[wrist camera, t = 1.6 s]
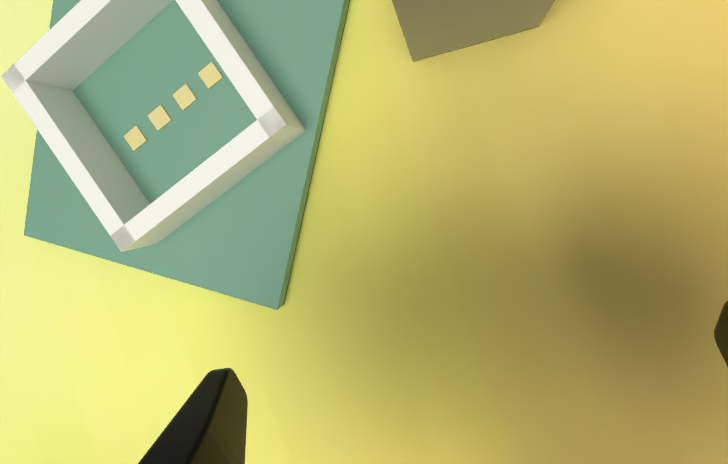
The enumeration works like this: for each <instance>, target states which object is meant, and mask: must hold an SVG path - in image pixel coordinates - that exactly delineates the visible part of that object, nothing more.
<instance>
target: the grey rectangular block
mask: <svg viewBox="0 0 728 464" xmlns="http://www.w3.org/2000/svg"><path fill="white" fill-rule="evenodd" d="M392 2H393V5H394V8H395V11H396V14H397V16H398V19H399V22H400V25H401V28H402V31H403V34H404V37H405V40H406V43H407V46H408V49H409V52H410V55H411V57H412V60H413V62H414V61H417V60H421V59H424V58H428V57H432V56H435V55H439V54H442V53H446V52H450V51H453V50H457V49H460V48H464V47H468V46H471V45H475V44H478V43H482V42H486V41H489V40H493V39H496V38H500V37H504V36H507V35H511V34H514V33H518V32H522V31H525V30H529V29H532V28H536V27H538V26H539V25H540V23H541V21H542V20H543V18H544V16H545V15H546V13H547V11H548V10H549V8H550V7H551V5H552V3H553V2H554V0H392Z"/></svg>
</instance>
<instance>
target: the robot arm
mask: <svg viewBox="0 0 728 464" xmlns="http://www.w3.org/2000/svg"><path fill="white" fill-rule="evenodd" d="M714 337H715V341H716V344H717V346H718V348H719V350H720V352H721V354H722V356H723V358H724V360H725V362H726V364H727V366H728V301H727V302H726V303H725V304H724V306H723V308H722V311H721V314H720V316H719V319H718V322H717V324H716V327H715V330H714ZM247 405H248V402H247V395H246V392H245V390H244V388H243V386H242V385H241V383H240V381H239V379H238V377H237V376H236V374H235V372H234V371H233V370H232V369H230V368H224V369H217V370H212V371H210V372H209V373H208V374H207V375H206V376H205V377H204V379H203V380H202V381H201V383H200V384H199V385H198V386H197V388H196V389H195V390H194V392H193V393H192V394H191V396H190V397H189V398H188V399H187V401H186V402H185V403H184V405H183V406H182V407H181V409H180V410H179V411H178V412H177V414H176V415H175V416H174V418H173V419H172V420H171V422H170V423H169V424H168V425H167V427H166V428H165V429H164V431H163V432H162V433H161V435H160V436H159V437H158V438H157V440H156V441H155V442H154V444H153V445H152V446H151V448H150V449H149V450H148V451H147V453H146V454H145V455H144V457H143V458H142V459H141V460H140V462H139V463H138V464H245V446H246V426H247Z"/></svg>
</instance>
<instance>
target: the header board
mask: <svg viewBox="0 0 728 464" xmlns="http://www.w3.org/2000/svg"><path fill="white" fill-rule="evenodd" d="M349 2H350V0H53V7H52V15H51V23H50V30H49V31H48V32H47V33H46V34H45V35H44V36H43V37H42V38H41V39H40V40H39V41H38V42H37V43H36V44H34V45H33V46H32V47H31V48H30V49H29V50H28V51H27V52H26V53H25V54H24V55H23V56H22V57H21V58H20V59H19V60H18V61H17V62H16V63H15V64H13V65H12V66H11V67H10V68H9V69H8V70H7V71H6V72H5V73H4V74H3V75H2V76H1V77H2V78H3V80H4V81H5V83H6V84H7V86H8V87H9V89H10V90H11V91H12V93H13V94H14V96H15V97H16V99H17V100H18V102H19V103H20V105H21V106H22V108H23V109H24V110H25V112H26V113H27V115H28V116H29V118H30V119H31V121H32V122H33V124H34V125H35V127H36V128H37V135H36V143H35V151H34V159H33V167H32V175H31V183H30V191H29V199H28V207H27V215H26V223H25V230H24V235H25V236H29V237H32V238H35V239H39V240H42V241H46V242H49V243H52V244H56V245H59V246H63V247H66V248H69V249H73V250H76V251H79V252H83V253H86V254H90V255H93V256H96V257H100V258H103V259H107V260H110V261H113V262H117V263H120V264H123V265H127V266H130V267H134V268H137V269H140V270H144V271H147V272H151V273H154V274H157V275H161V276H164V277H168V278H171V279H174V280H178V281H181V282H184V283H188V284H191V285H195V286H198V287H201V288H205V289H208V290H212V291H215V292H218V293H222V294H225V295H229V296H232V297H235V298H239V299H242V300H245V301H249V302H252V303H256V304H259V305H262V306H266V307H269V308H273V309H276V310H278V309H279V308H280V307H281V306H283V304H284V300H285V295H286V291H287V286H288V281H289V277H290V272H291V268H292V263H293V258H294V254H295V249H296V245H297V240H298V235H299V231H300V226H301V222H302V217H303V213H304V208H305V203H306V199H307V194H308V190H309V185H310V180H311V176H312V171H313V167H314V162H315V158H316V153H317V148H318V144H319V139H320V135H321V130H322V125H323V121H324V116H325V112H326V107H327V103H328V98H329V93H330V89H331V84H332V80H333V75H334V70H335V66H336V61H337V57H338V52H339V47H340V43H341V38H342V34H343V29H344V25H345V20H346V15H347V11H348V6H349Z"/></svg>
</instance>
